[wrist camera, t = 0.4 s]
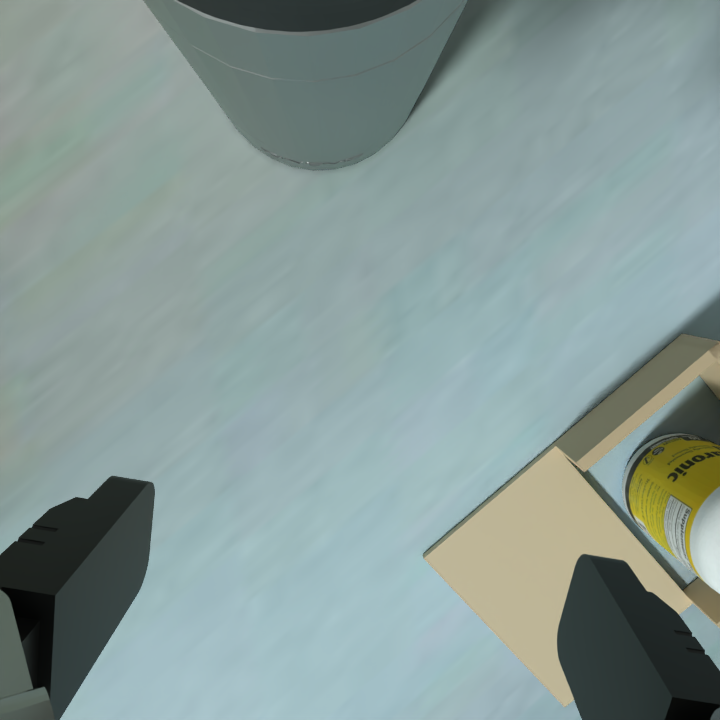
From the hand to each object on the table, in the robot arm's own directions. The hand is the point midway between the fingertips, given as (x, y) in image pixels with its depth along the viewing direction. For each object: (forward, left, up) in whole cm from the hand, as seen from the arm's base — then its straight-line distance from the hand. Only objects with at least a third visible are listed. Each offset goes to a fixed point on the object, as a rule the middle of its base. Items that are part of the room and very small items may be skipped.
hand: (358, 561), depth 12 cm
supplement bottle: (+4, +17, -19) cm, 25 cm away
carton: (+7, +14, -19) cm, 24 cm away
